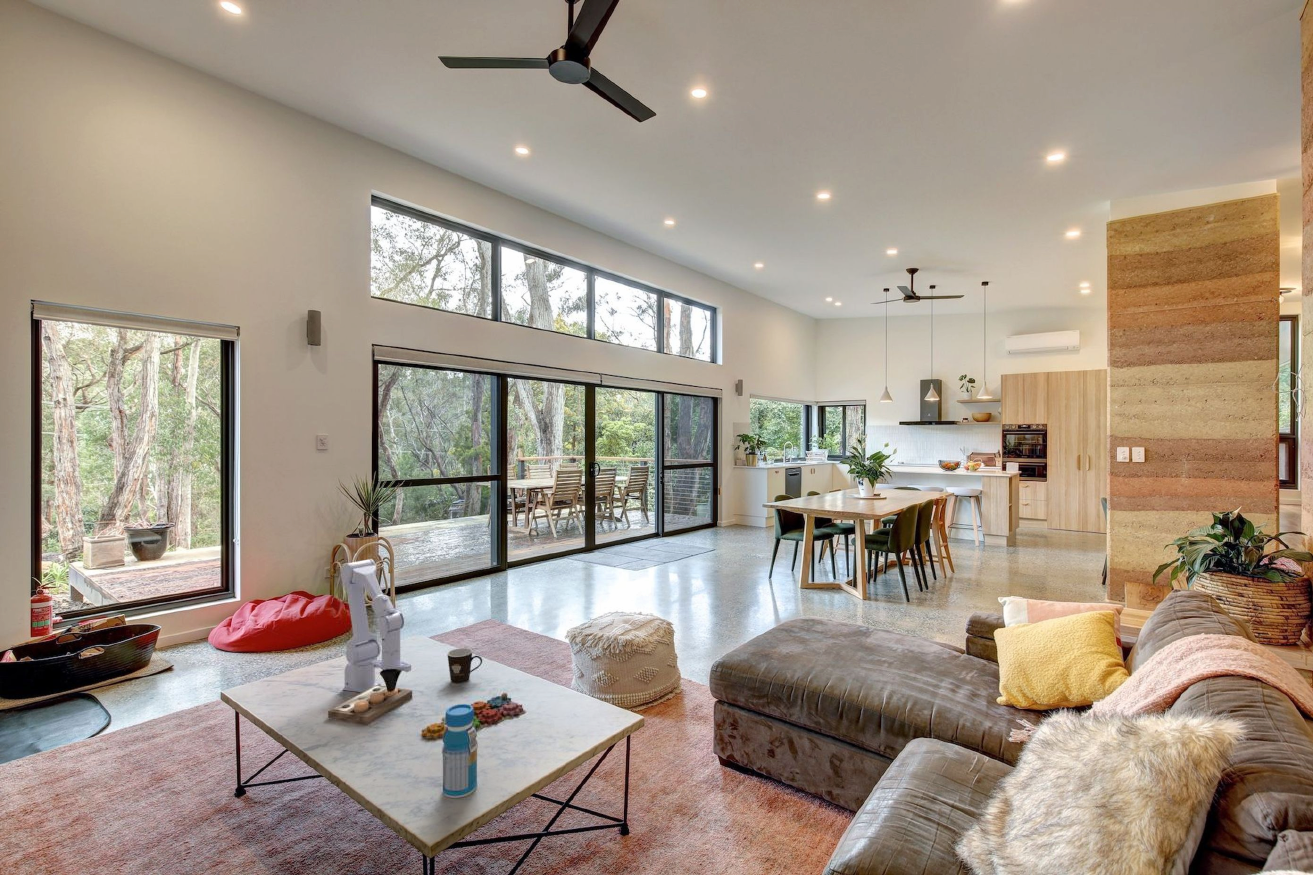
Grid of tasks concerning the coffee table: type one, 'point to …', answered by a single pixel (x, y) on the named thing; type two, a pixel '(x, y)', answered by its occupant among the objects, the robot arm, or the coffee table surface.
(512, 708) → the gear puzzle
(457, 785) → the beverage bottle
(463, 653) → the coffee mug
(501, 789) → the coffee table surface
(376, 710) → the button board
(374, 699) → the button
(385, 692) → the button
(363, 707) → the button
